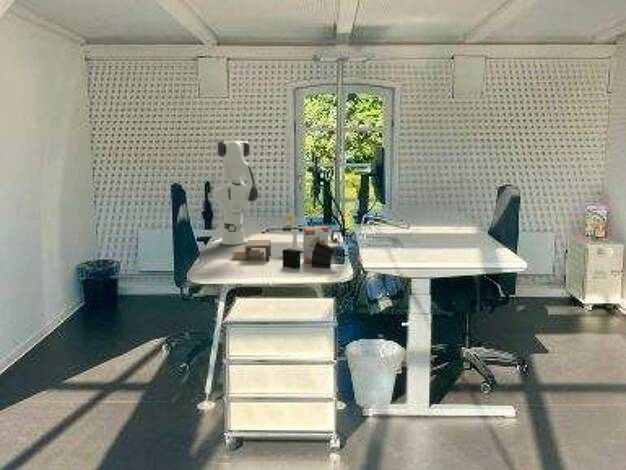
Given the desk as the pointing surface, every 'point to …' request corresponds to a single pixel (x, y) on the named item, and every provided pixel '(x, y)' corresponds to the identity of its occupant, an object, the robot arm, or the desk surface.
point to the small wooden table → (258, 244)
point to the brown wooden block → (242, 254)
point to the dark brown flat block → (322, 255)
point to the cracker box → (313, 240)
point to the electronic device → (291, 258)
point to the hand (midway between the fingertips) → (238, 231)
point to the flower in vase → (294, 245)
